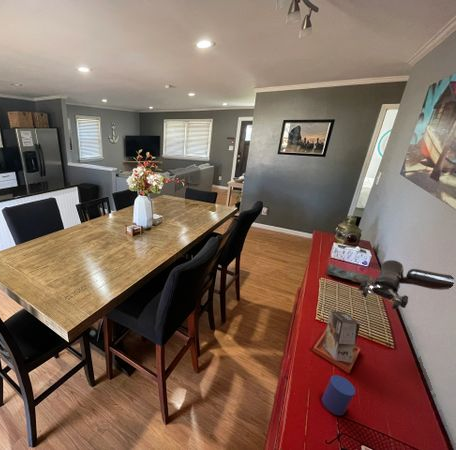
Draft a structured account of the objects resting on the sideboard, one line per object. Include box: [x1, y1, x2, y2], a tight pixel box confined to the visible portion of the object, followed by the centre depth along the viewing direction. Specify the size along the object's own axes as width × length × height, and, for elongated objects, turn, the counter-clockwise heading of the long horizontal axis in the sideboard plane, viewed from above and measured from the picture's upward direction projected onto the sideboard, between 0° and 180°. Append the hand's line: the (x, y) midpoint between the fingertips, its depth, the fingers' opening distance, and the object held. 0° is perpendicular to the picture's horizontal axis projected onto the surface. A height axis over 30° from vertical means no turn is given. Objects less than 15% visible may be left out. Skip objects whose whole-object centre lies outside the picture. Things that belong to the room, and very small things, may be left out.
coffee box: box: [323, 310, 361, 363], centre depth 95 cm, size 9×6×16 cm
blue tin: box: [321, 374, 356, 416], centre depth 77 cm, size 6×6×10 cm
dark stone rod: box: [325, 263, 376, 284], centre depth 145 cm, size 13×7×25 cm
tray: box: [312, 329, 361, 374], centre depth 98 cm, size 13×15×2 cm
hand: (379, 300), depth 92 cm, fingers open, 8 cm apart
